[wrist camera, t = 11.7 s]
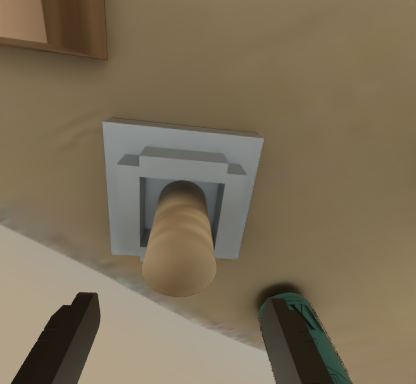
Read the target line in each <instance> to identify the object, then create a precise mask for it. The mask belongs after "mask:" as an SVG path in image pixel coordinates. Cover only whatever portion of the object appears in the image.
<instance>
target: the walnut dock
mask: <svg viewBox="0 0 416 384" xmlns="http://www.w3.org/2000/svg"><path fill="white" fill-rule="evenodd" d="M0 45H1V46H9V47H16V48H23V49H31V50H38V51H45V52H53V53H60V54H67V55H75V56H82V57H89V58H97V59H104V60H108V59H107V40H106V22H105V4H104V0H0Z"/></svg>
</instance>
